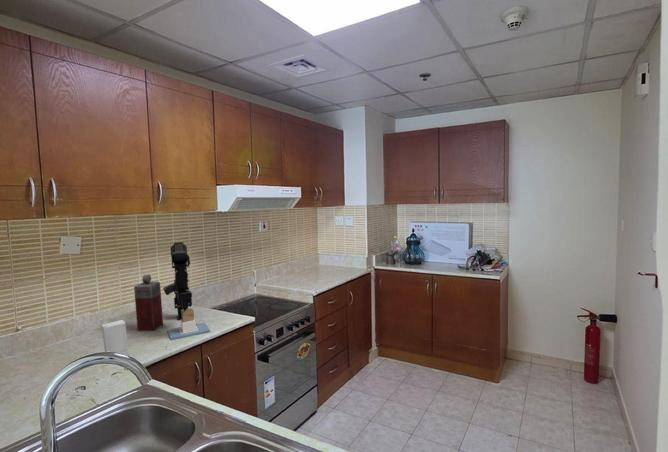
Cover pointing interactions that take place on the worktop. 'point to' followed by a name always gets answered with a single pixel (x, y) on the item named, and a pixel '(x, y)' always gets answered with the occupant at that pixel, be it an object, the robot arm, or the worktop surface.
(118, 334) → the skincare box
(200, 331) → the board
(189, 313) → the walnut block
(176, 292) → the robot arm
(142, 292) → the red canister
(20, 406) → the worktop surface
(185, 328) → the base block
